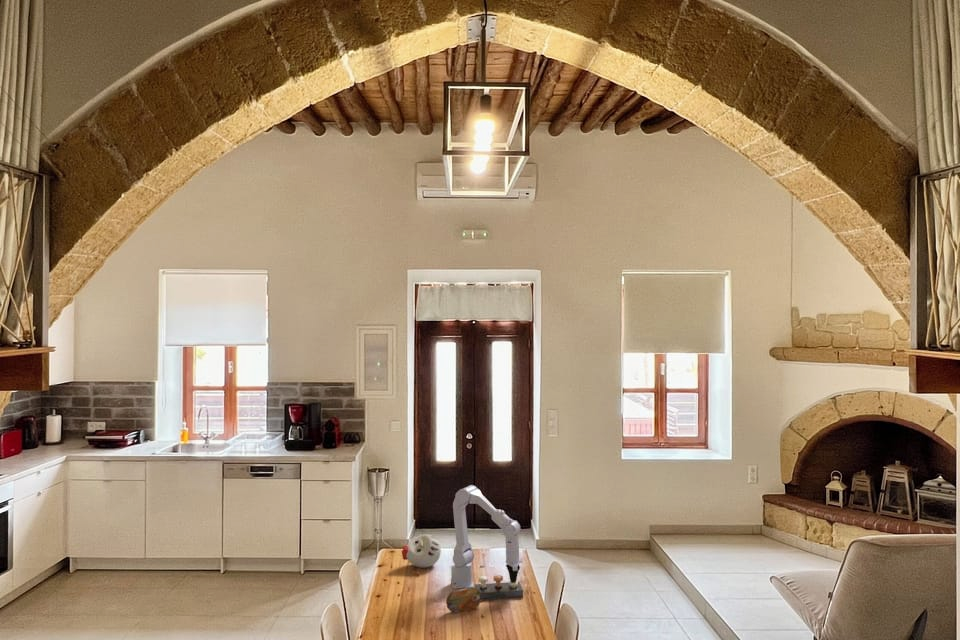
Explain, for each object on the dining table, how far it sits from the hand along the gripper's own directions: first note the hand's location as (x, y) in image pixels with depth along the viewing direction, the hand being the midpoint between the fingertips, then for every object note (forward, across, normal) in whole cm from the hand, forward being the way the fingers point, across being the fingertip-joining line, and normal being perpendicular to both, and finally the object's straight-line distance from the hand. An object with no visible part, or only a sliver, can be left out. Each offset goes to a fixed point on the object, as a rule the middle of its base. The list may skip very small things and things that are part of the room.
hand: (513, 582), depth 283 cm
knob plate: (+5, 0, +6) cm, 8 cm away
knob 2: (+4, 0, 0) cm, 4 cm away
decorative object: (+5, +40, +40) cm, 56 cm away
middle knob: (+2, 0, +6) cm, 7 cm away
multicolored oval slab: (+5, -14, +22) cm, 27 cm away
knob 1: (+2, 0, +13) cm, 13 cm away
